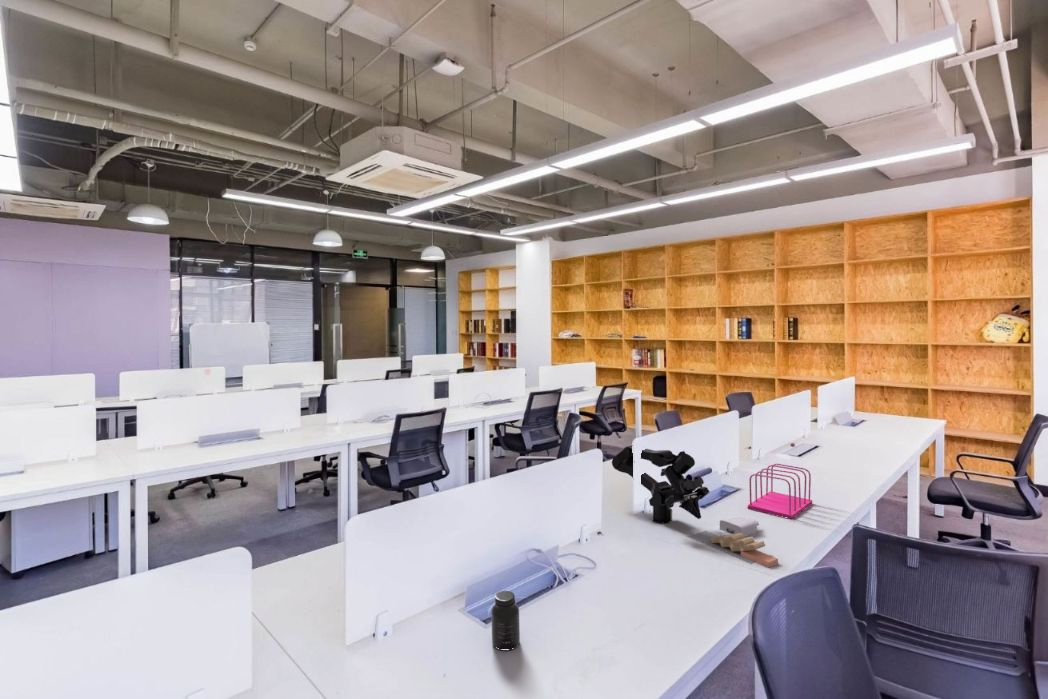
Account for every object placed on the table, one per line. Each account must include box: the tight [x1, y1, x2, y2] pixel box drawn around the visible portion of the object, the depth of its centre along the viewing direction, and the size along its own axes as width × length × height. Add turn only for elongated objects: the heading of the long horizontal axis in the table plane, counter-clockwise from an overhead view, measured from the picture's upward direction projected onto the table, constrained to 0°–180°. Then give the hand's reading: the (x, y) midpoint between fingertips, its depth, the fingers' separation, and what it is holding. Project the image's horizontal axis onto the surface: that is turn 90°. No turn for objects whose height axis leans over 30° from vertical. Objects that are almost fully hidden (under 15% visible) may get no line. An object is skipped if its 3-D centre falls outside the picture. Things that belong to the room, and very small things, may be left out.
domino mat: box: [686, 530, 756, 565], centre depth 180 cm, size 26×10×1 cm, turn 31°
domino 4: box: [741, 549, 779, 568], centre depth 169 cm, size 2×5×10 cm
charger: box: [719, 515, 760, 538], centre depth 194 cm, size 5×9×15 cm
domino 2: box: [720, 536, 755, 547], centre depth 176 cm, size 2×5×10 cm
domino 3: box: [730, 540, 766, 552], centre depth 173 cm, size 2×5×10 cm
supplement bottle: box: [490, 590, 521, 650], centre depth 127 cm, size 7×7×12 cm
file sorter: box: [747, 463, 813, 519], centre depth 220 cm, size 17×25×16 cm
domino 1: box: [711, 533, 745, 543], centre depth 180 cm, size 2×5×10 cm
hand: (699, 518), depth 190 cm, fingers closed
